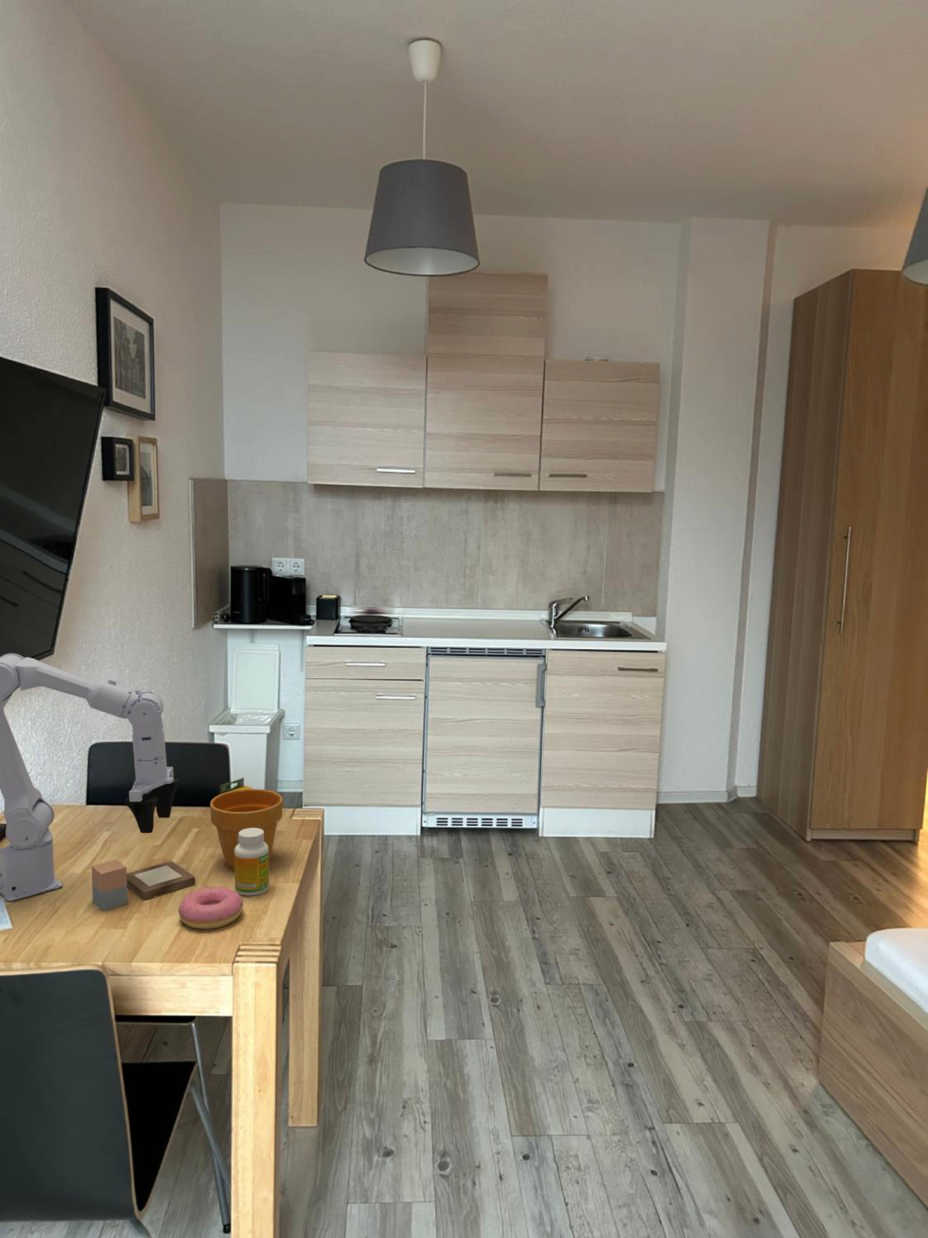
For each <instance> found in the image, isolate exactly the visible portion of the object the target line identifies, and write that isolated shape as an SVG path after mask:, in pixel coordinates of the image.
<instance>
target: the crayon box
mask: <svg viewBox="0 0 928 1238" xmlns="http://www.w3.org/2000/svg"><path fill="white" fill-rule="evenodd" d="M233 784H236V785H234V786H233V787H229V788H228V786H231V785H233ZM243 789H254V788H253V787H252V786H246V785H245V778H244V777H241V778H239V779H236V780H232V781H230V782H227V783H223V784H221V785H219V795H220V794H223V793H226V792H230V791H235V790H243Z"/></svg>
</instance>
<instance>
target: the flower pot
mask: <svg viewBox="0 0 928 1238" xmlns="http://www.w3.org/2000/svg"><path fill="white" fill-rule="evenodd" d="M209 805H210V807H209V809H210V821H211V823H212V824H213V825H214V826H215V829H216V831H217V836H218V840H219V845H220V847H221V851H222V855H223V859H224V862H225V865H226V866H227V867H229V868H231V869H234V870H235V859H234V852H235V847H236V846H237V845H238V844H239V840H238V837H239V832H240V831H241V830H243V829H247V828H259V829H262V830H263V831H264V841H263V842H265V843H266V844H267V845H268V849H269V861H270V860H271V855H272V850H273V846H274V840H275V837H276V836H275V835H276V831H277V826H278V822H279V821H280V820H281V819H282V817H283V796H282V795H281V794H280V793H278V792H275V791H273V790H268V789H263V788H253V789H243V790H235V791H230V792H226V793H223V794H220V793H219V794H218V795H217V796H215V797H214V798H212V799H211V800H210V804H209Z"/></svg>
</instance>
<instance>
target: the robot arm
mask: <svg viewBox="0 0 928 1238" xmlns="http://www.w3.org/2000/svg"><path fill="white" fill-rule="evenodd" d="M117 682H118V681H117V679H115V678H112V677H111V678H109V679H108V680H107V679H105V678H102V679H99V680H96V681H94V682H92V681H90V680H87V679H85V678H83V677H80V676H78V675H75V674H72V673H70V672H67V671H65V670H62V669H60V668H56V666H52V665H50V664H47V663H44V662H42V661H40V660H38V659H35V658H32V657H28V656H26V657H24V656H22V655H20V654H18V653H6V654H3V655H1V656H0V793H1V794H2V797H3V800H4V803H3V804H4V805H3V806H4V807H3V817H4V819H5V823H6V826H5V837H6V839H7V840H8V842H9V843H8V845H6V846H3V847H2V848H0V894H1V895H2V896H3V897H4V898H5V899H6V901H8V902H13V901H17V900H19V899H23V898H27V897H30V896H31V897H32V896H35V895H38V894H41V893H46V892H49V891H53V890H56V889H59V888H62V887H63V883H62V882H61V881H59V879H57V877H55V863H54V861H55V858H54V839H53V838H54V837H53V834H52V832H51V831H50V829H49V827H50V825H51V824H52V823H53V821H54V819H55V811H54V808H53V806H52V805H51V804H50V803H49V802H48V801H46V800H45V799H44V797H43V795H42V793H41V791H40V790H39V789H37V788H36V787H35V786H34V784H33V782H32V779H31V777H30V775H29V772H28V769H27V767H26V764H25V762H24V759H23V757H22V754H21V751H20V749H19V747H18V743H17V741H16V739H15V737H14V736H15V735H14V734H13V732H12V729H11V727H10V724H9V721H8V719H7V717H6V712H5V711H4V709H5V707H6V705H7V704H8V702H9V700H10V699H11V697H12V695H13V694H14V692H16V690H18V689H19V688H20V690H19V691H25V690H30V689H35V688H39V687H44V688H47V689H49V690H50V689H51V690H54V691H57V692H60V693H65V694H67V695H70V696H75V697H77V698H82V699H84V700H85V701H86V703H88V706H89V707H90V708H91V709H94V710H96V711H99V712H102V713H106V714H109V715H111V716H114V717H117V718H121V719H124V720H128V722H129V723H130V724H131V726H132V735H131V738H132V748H133V749H132V750H133V759H134V760H133V761H134V772H135V773H134V775H135V780H134V783H133V786H132V788H131V789H130V790H129V791H128V797H126V798H125V799H124V800H125V805H126V806H127V808H128V809H129V810H130V812H131V813H132V815H133V817H134V819H135V821H136V824H137V826H138V829H139V831H140V833H141V834H152V833H154V832H153V831H154V825H155V824H154V823H155V821H154V820H155V817H154V816H155V809H156V814H157V817H158V818H159V819H169V818H170V817H171V813H172V808H173V807H172V806H173V802H174V797H175V794H176V790H177V788H178V785H179V784H180V780H179V779H178V778H174V776H175V775H174V768H173V766H167V764H168V763H167V753H166V750H167V749H166V739H165V731H164V723H163V718H162V714H163V711H164V702H163V700H162V698H161V697H160V696H159V695H158V694H156V693H154V692H153V691H152V690H148V691H147V690H145V691H142V689H141V688H136V689H133V688H131V687H128V686H125V685H123V684H119V683H117ZM149 793H151V794H152V797H150V796H149V795H148V794H149Z"/></svg>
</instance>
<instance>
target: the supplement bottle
mask: <svg viewBox="0 0 928 1238" xmlns="http://www.w3.org/2000/svg"><path fill="white" fill-rule="evenodd" d="M238 840H239V844H238V845H237V846H236V847H235V852H234V859H235V869H234V891H236V892H237V893H238V894H239V895H240V896H246V897H249V896H252V897H253V896H258V895H261V894H264V893H265V892H267V891H268V889H269V887H270V862H269V861H270V860H269V849H268V845H267V844H266V843H265V842H263V841H264V831H263V830H262V829H259V828H247V829H243V830H241V831H240V832H239V837H238Z"/></svg>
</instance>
